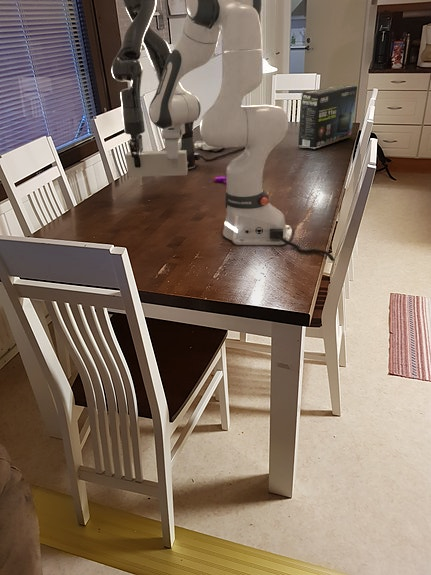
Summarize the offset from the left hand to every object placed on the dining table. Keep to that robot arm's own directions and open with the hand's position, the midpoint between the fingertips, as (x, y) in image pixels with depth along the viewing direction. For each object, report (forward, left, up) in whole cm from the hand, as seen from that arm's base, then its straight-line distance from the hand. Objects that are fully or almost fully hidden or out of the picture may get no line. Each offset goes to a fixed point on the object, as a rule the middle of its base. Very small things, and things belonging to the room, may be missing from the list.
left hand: (138, 165), depth 178 cm
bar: (-3, +7, -4) cm, 8 cm away
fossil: (-75, -2, -12) cm, 76 cm away
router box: (-100, +54, -12) cm, 115 cm away
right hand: (-5, +13, -1) cm, 14 cm away
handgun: (-20, +29, -12) cm, 38 cm away
